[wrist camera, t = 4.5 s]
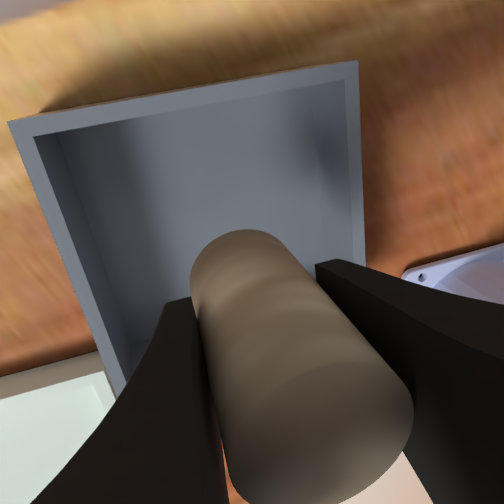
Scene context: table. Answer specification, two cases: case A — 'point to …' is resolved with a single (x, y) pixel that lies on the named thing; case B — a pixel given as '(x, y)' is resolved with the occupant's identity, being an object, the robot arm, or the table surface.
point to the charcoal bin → (193, 188)
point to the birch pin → (292, 378)
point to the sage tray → (48, 421)
